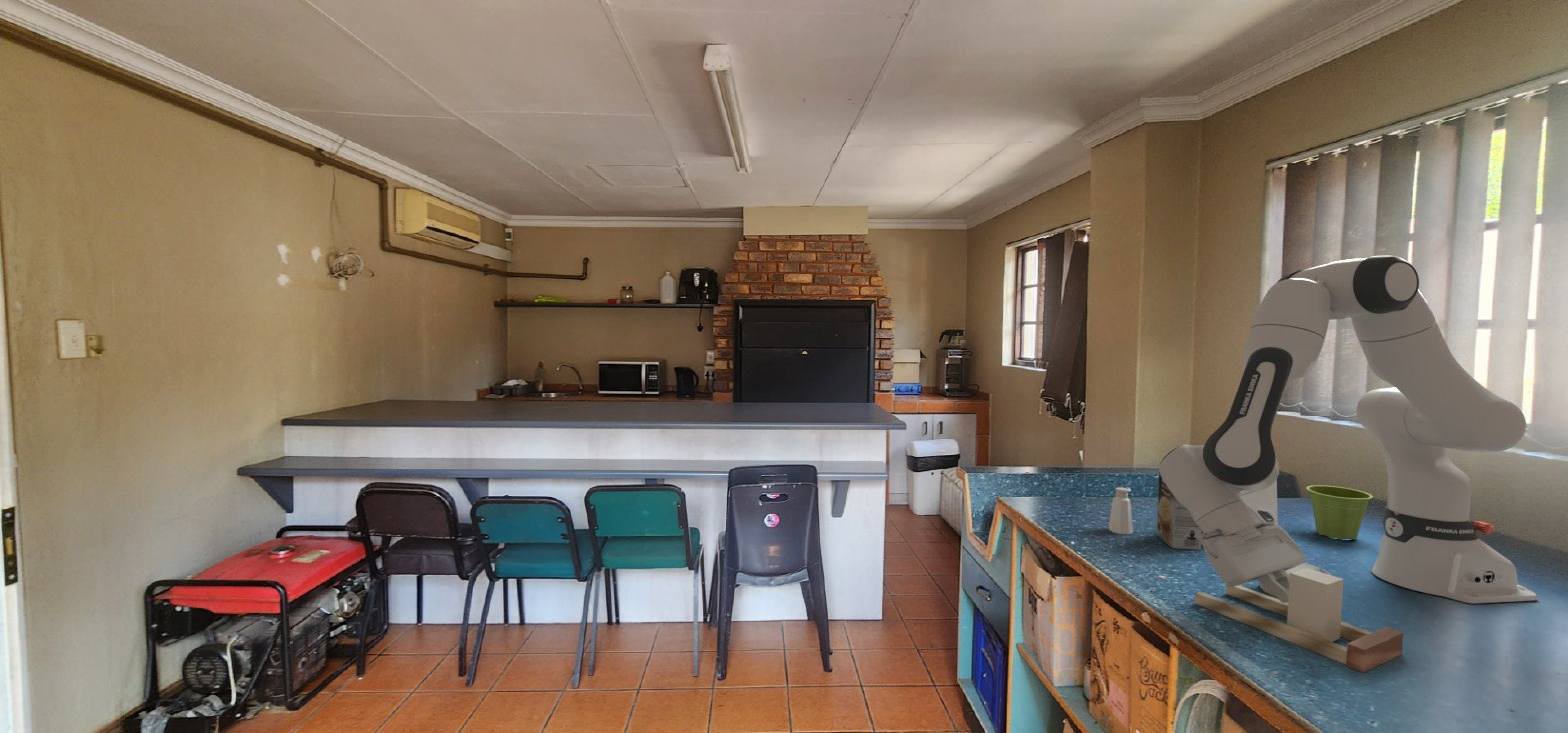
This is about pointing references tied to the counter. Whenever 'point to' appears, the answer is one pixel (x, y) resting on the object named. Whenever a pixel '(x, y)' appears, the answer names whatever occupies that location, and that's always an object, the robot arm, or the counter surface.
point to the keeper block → (1315, 603)
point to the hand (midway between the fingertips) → (1291, 600)
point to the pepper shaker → (1121, 513)
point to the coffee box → (1176, 521)
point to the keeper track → (1357, 655)
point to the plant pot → (1338, 510)
